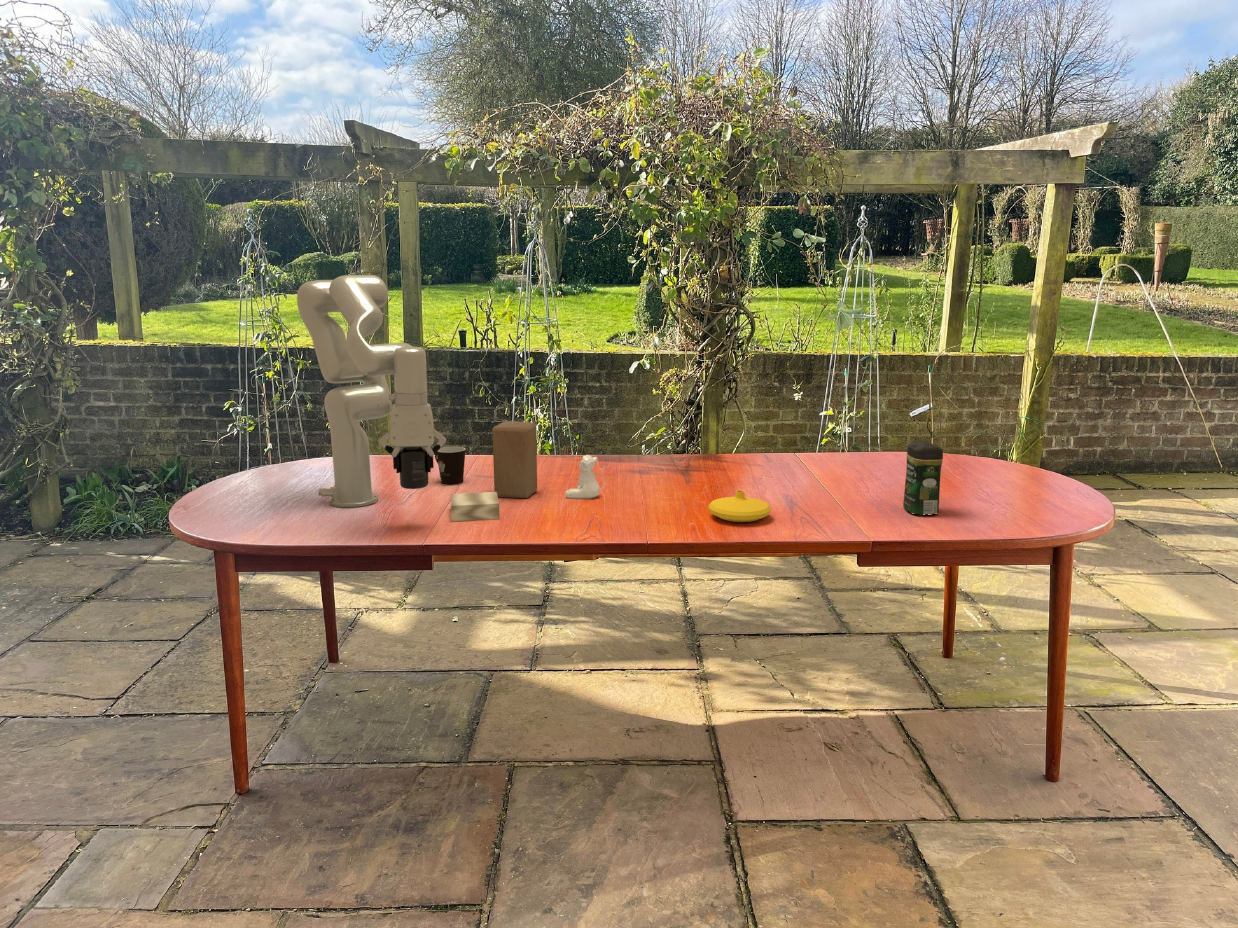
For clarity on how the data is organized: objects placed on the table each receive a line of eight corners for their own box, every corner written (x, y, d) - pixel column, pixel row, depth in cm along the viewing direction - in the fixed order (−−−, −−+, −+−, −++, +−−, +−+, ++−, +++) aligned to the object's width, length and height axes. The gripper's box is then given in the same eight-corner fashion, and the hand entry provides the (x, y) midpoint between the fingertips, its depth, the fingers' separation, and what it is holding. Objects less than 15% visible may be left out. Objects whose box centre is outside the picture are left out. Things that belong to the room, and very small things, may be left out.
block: (527, 499, 236) (526, 428, 232) (493, 497, 238) (491, 426, 234) (538, 490, 246) (536, 421, 241) (505, 488, 248) (503, 420, 243)
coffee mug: (469, 484, 253) (468, 451, 251) (440, 487, 250) (438, 453, 248) (461, 475, 264) (460, 443, 261) (433, 478, 261) (431, 446, 258)
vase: (722, 529, 209) (723, 501, 207) (698, 512, 224) (699, 486, 222) (781, 524, 213) (782, 496, 212) (754, 507, 228) (755, 482, 226)
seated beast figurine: (582, 490, 246) (582, 449, 243) (608, 494, 241) (607, 452, 239) (563, 498, 238) (563, 455, 235) (589, 502, 234) (589, 459, 231)
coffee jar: (898, 507, 228) (903, 438, 224) (928, 506, 228) (933, 438, 224) (911, 517, 219) (917, 446, 214) (942, 517, 219) (948, 445, 215)
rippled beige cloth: (451, 521, 216) (450, 505, 215) (451, 508, 227) (450, 494, 226) (499, 518, 218) (499, 503, 217) (497, 506, 229) (496, 491, 228)
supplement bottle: (430, 482, 213) (429, 435, 210) (425, 489, 206) (424, 441, 204) (403, 481, 213) (401, 434, 210) (397, 489, 206) (395, 440, 203)
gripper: (372, 402, 199) (375, 476, 204) (448, 401, 203) (450, 474, 207) (374, 396, 206) (378, 468, 211) (448, 396, 210) (450, 466, 214)
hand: (413, 470), depth 209 cm, fingers closed on supplement bottle, 6 cm apart
